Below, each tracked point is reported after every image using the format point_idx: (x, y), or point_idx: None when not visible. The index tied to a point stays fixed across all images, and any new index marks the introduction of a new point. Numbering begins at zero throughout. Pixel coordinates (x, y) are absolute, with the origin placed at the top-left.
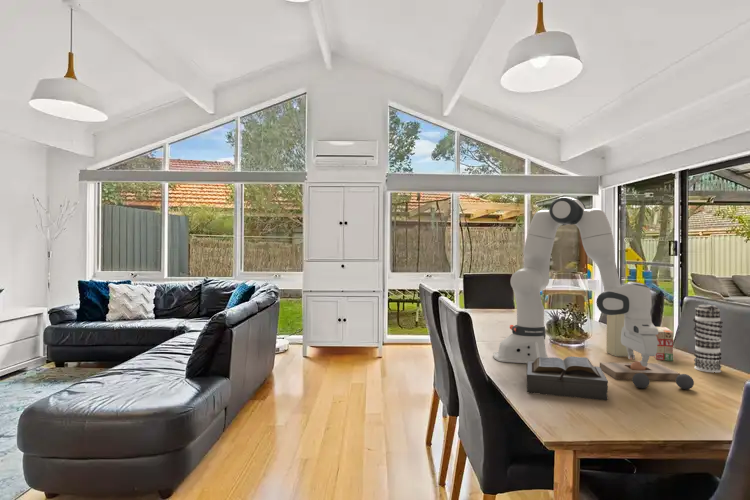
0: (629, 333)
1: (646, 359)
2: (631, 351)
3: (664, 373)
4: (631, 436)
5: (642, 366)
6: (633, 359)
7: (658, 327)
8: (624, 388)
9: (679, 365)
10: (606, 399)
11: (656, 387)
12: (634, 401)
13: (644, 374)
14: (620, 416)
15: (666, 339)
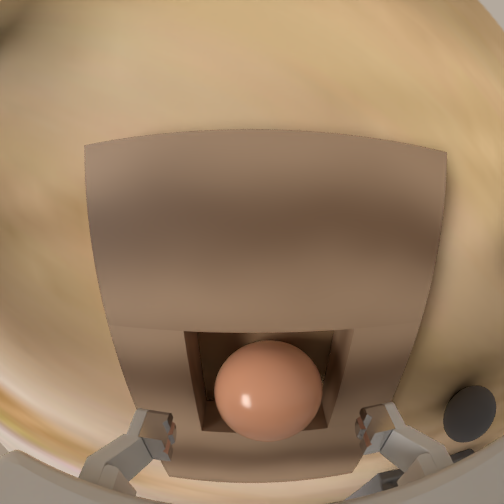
0: None
1: (421, 445)
2: (123, 462)
3: (432, 275)
4: None
5: (320, 397)
6: (171, 416)
7: None
8: (439, 431)
9: (37, 4)
10: (471, 450)
11: (473, 346)
12: (499, 412)
13: (491, 422)
14: None
15: None
